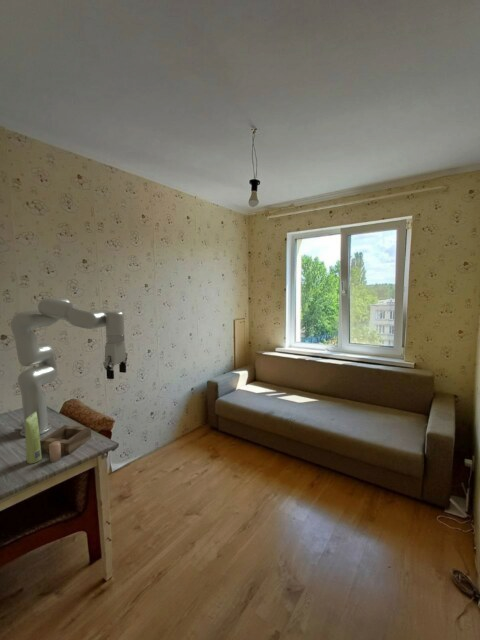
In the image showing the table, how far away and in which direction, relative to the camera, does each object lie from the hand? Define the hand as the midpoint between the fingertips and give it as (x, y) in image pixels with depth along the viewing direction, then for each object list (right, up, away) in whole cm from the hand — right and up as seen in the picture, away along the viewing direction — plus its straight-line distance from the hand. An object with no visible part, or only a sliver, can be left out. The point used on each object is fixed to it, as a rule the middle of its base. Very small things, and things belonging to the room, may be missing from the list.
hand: (116, 375), depth 131 cm
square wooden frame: (-22, -31, -1) cm, 38 cm away
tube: (-28, -33, -13) cm, 45 cm away
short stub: (-20, -33, -12) cm, 40 cm away
